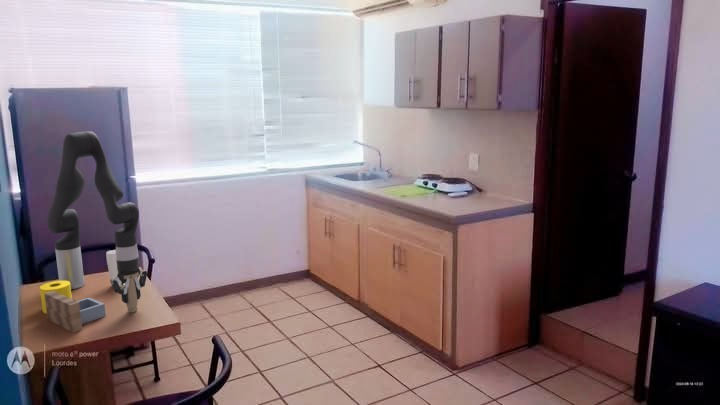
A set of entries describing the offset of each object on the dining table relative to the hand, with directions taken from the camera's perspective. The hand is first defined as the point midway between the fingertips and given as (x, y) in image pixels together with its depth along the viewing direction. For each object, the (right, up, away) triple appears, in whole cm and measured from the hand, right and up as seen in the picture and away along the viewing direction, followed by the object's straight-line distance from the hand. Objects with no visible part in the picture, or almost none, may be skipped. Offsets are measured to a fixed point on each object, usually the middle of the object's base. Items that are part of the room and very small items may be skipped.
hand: (131, 300), depth 195 cm
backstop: (-19, -6, -10) cm, 23 cm away
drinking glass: (-18, +1, +28) cm, 34 cm away
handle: (0, -4, +1) cm, 4 cm away
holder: (-16, -6, -4) cm, 17 cm away
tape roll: (-30, -4, +4) cm, 30 cm away
